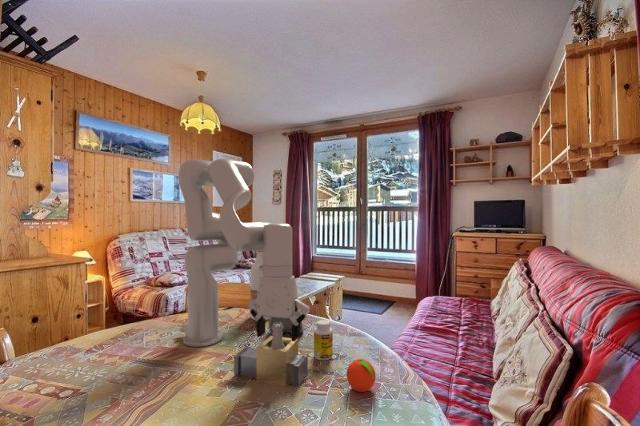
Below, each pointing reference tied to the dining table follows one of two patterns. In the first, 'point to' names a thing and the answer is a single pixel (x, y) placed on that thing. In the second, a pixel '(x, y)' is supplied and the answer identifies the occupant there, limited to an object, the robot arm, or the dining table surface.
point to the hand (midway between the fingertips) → (277, 337)
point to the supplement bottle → (323, 340)
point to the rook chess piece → (277, 336)
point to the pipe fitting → (285, 323)
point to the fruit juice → (256, 278)
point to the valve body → (273, 363)
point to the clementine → (361, 375)
